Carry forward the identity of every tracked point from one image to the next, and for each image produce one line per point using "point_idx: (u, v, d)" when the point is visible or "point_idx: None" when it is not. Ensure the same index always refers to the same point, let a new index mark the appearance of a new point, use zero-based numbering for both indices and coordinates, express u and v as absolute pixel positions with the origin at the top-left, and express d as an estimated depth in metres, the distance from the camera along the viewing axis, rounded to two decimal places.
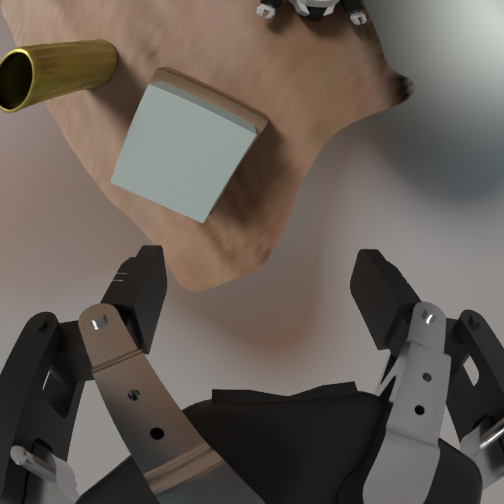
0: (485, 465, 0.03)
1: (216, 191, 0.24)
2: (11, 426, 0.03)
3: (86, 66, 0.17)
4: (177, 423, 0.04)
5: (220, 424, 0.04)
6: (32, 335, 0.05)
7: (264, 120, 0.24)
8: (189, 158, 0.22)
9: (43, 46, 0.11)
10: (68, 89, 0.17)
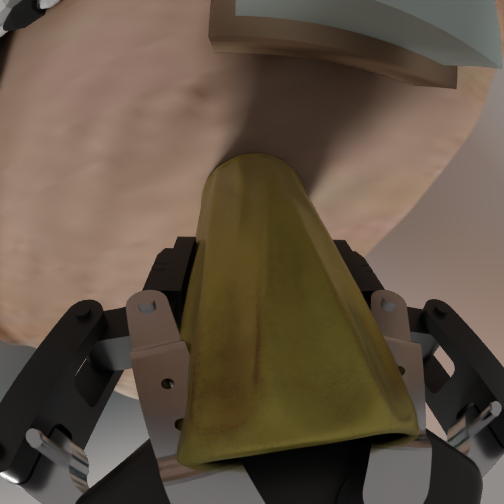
0: (479, 454, 0.03)
1: None
2: (33, 409, 0.04)
3: (246, 199, 0.09)
4: None
5: None
6: (73, 322, 0.06)
7: None
8: None
9: None
10: (319, 229, 0.09)
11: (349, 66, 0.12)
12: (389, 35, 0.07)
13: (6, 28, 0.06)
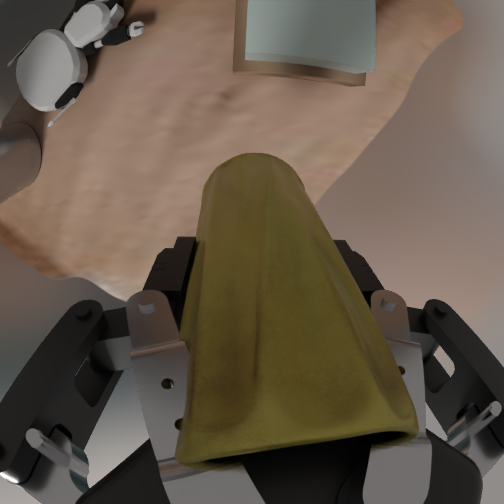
0: (479, 454, 0.03)
1: None
2: (33, 408, 0.04)
3: (246, 198, 0.09)
4: None
5: None
6: (73, 322, 0.06)
7: None
8: None
9: None
10: (319, 228, 0.09)
11: (307, 79, 0.23)
12: (317, 65, 0.19)
13: (104, 44, 0.18)
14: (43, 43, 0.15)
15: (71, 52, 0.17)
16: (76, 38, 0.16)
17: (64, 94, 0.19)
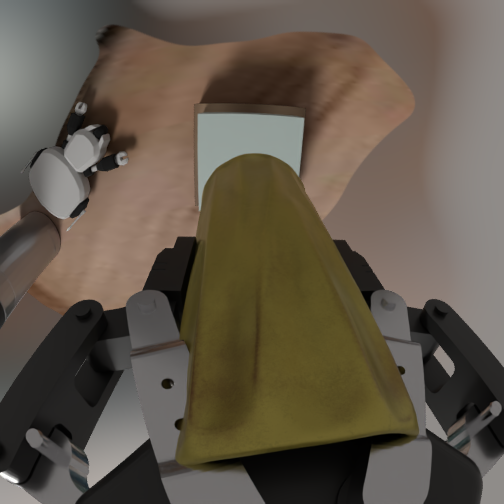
0: (479, 454, 0.03)
1: (265, 119, 0.24)
2: (33, 409, 0.04)
3: (246, 199, 0.09)
4: None
5: None
6: (73, 322, 0.06)
7: (195, 107, 0.26)
8: (245, 153, 0.25)
9: None
10: (319, 229, 0.09)
11: None
12: None
13: (99, 170, 0.30)
14: (49, 163, 0.28)
15: (75, 176, 0.29)
16: (76, 166, 0.28)
17: (76, 209, 0.32)
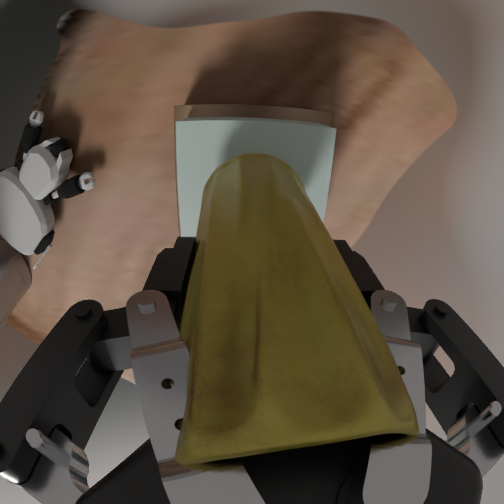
0: (479, 454, 0.03)
1: (278, 128, 0.16)
2: (33, 409, 0.04)
3: (246, 199, 0.09)
4: None
5: None
6: (73, 322, 0.06)
7: (176, 110, 0.18)
8: None
9: None
10: (319, 228, 0.09)
11: None
12: None
13: None
14: (5, 189, 0.20)
15: (33, 205, 0.21)
16: (33, 193, 0.20)
17: (40, 245, 0.24)
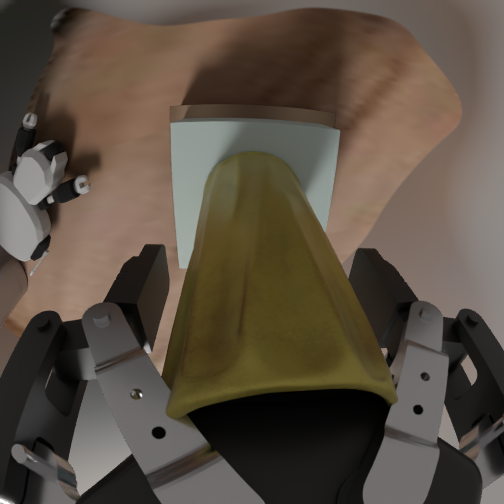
0: (485, 464, 0.03)
1: (279, 130, 0.15)
2: (13, 424, 0.03)
3: (243, 191, 0.10)
4: (180, 423, 0.04)
5: (220, 424, 0.04)
6: (35, 334, 0.05)
7: (171, 111, 0.17)
8: None
9: None
10: (309, 217, 0.09)
11: None
12: None
13: (56, 201, 0.21)
14: None
15: (28, 210, 0.20)
16: (27, 198, 0.20)
17: (36, 250, 0.23)
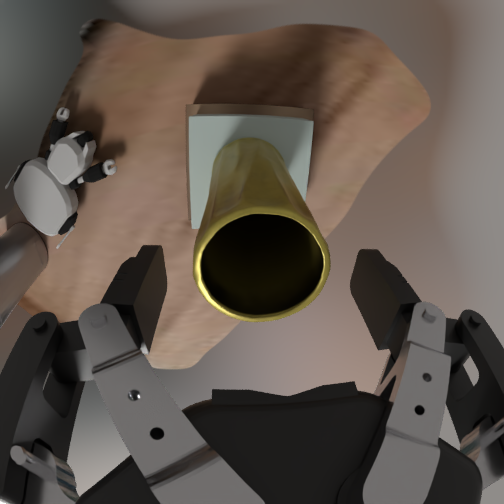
0: (485, 465, 0.03)
1: (268, 122, 0.20)
2: (11, 426, 0.03)
3: (241, 158, 0.16)
4: (178, 424, 0.04)
5: (220, 424, 0.04)
6: (32, 335, 0.05)
7: (187, 108, 0.23)
8: None
9: None
10: (283, 171, 0.15)
11: None
12: None
13: (86, 181, 0.27)
14: (32, 176, 0.24)
15: (60, 189, 0.26)
16: (60, 178, 0.25)
17: (64, 225, 0.28)
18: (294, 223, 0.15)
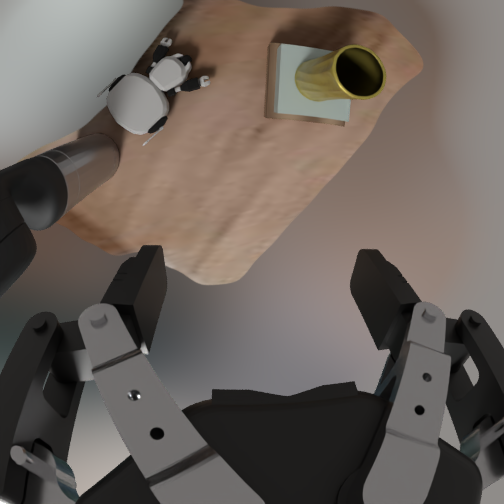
0: (485, 465, 0.03)
1: (328, 53, 0.28)
2: (11, 426, 0.03)
3: None
4: (178, 423, 0.04)
5: (220, 424, 0.04)
6: (32, 335, 0.05)
7: (271, 44, 0.31)
8: None
9: (323, 68, 0.20)
10: None
11: None
12: None
13: (183, 90, 0.35)
14: (132, 84, 0.32)
15: (159, 94, 0.34)
16: (162, 84, 0.33)
17: (156, 123, 0.36)
18: (358, 83, 0.23)
